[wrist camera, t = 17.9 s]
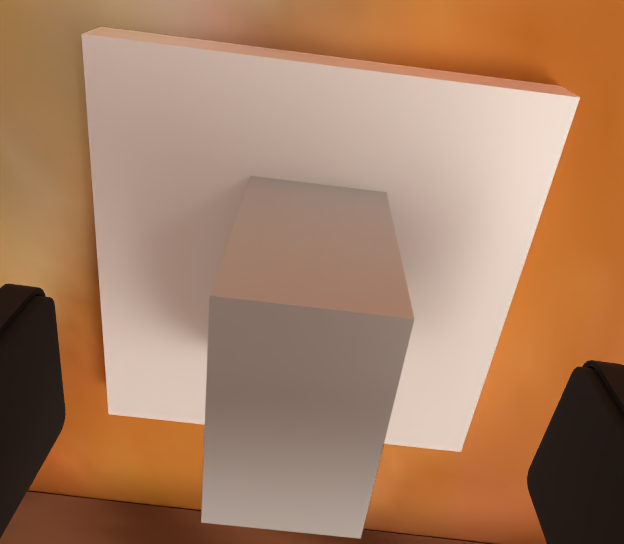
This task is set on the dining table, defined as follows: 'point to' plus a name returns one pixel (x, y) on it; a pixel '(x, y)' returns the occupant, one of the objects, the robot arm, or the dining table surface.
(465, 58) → the dining table surface
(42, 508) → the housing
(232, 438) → the cover
